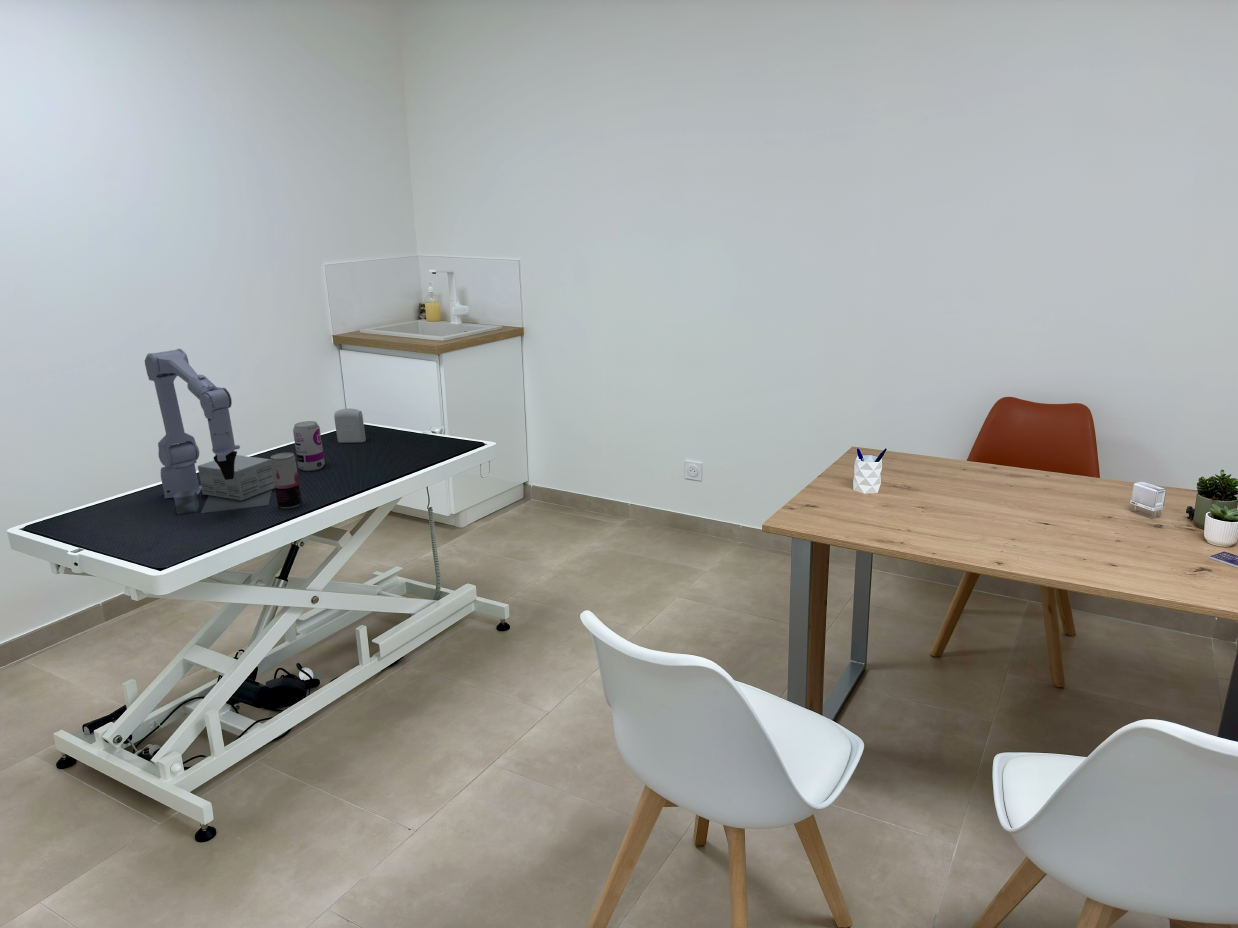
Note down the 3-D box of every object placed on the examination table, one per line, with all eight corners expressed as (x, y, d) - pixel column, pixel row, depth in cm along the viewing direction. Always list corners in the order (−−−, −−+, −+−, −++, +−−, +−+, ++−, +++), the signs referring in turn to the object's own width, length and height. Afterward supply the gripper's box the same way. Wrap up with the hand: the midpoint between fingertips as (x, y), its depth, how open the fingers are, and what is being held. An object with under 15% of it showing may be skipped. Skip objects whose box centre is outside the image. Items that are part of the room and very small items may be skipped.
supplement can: (329, 464, 282) (323, 420, 277) (318, 471, 274) (311, 427, 270) (305, 463, 283) (299, 420, 278) (294, 471, 275) (287, 427, 270)
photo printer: (335, 443, 306) (331, 410, 302) (340, 440, 310) (336, 407, 306) (363, 443, 305) (359, 410, 301) (367, 440, 309) (363, 407, 305)
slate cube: (177, 514, 240) (174, 497, 238) (180, 508, 244) (177, 492, 243) (196, 511, 241) (193, 495, 240) (199, 506, 246) (196, 490, 244)
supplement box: (276, 487, 259) (272, 458, 256) (242, 501, 247) (236, 471, 245) (237, 481, 266) (232, 453, 263) (202, 494, 254) (196, 465, 252)
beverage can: (306, 503, 245) (299, 454, 241) (288, 510, 240) (280, 460, 235) (291, 499, 249) (284, 451, 244) (273, 506, 243) (265, 457, 239)
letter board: (200, 513, 239) (200, 512, 239) (211, 489, 259) (211, 488, 259) (268, 505, 244) (268, 504, 244) (273, 482, 264) (273, 481, 264)
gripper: (233, 437, 229) (242, 484, 234) (239, 424, 243) (247, 469, 247) (205, 440, 228) (214, 487, 232) (213, 427, 241) (221, 472, 245)
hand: (229, 478), depth 239 cm, fingers closed
